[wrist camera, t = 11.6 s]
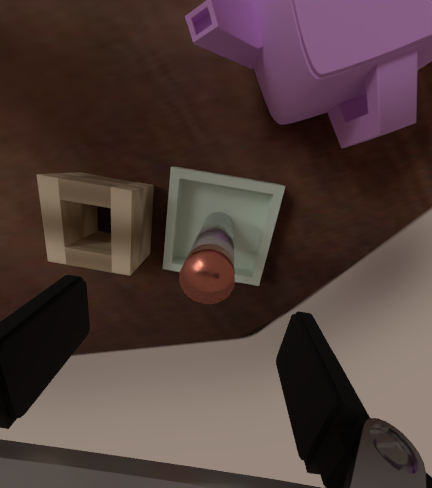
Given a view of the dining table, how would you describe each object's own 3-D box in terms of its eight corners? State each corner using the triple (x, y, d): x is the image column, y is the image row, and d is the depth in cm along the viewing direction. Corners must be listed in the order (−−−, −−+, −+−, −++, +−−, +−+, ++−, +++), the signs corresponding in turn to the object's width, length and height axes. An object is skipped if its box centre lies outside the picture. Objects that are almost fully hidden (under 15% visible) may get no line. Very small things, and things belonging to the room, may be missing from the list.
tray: (176, 166, 24) (170, 166, 22) (280, 184, 24) (285, 186, 22) (168, 260, 29) (162, 268, 26) (256, 275, 29) (258, 285, 26)
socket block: (79, 172, 25) (36, 174, 20) (153, 185, 25) (131, 190, 20) (84, 242, 29) (48, 261, 23) (150, 253, 29) (130, 275, 23)
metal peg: (206, 209, 25) (181, 250, 13) (235, 214, 25) (239, 260, 13) (201, 237, 27) (176, 298, 14) (230, 242, 27) (229, 308, 14)
